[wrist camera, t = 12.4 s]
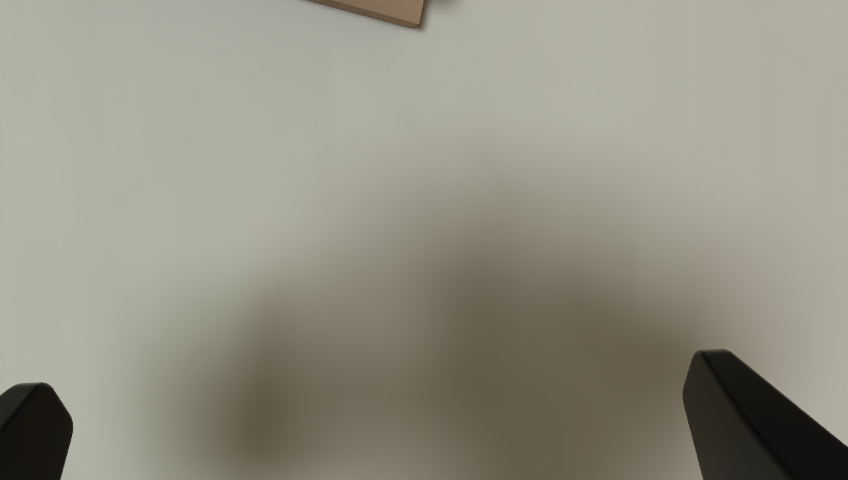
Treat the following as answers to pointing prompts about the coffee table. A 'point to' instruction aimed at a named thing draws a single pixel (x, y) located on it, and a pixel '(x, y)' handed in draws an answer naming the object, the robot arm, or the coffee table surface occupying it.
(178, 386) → the coffee table surface
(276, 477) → the coffee table surface
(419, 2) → the mating board
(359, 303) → the coffee table surface
